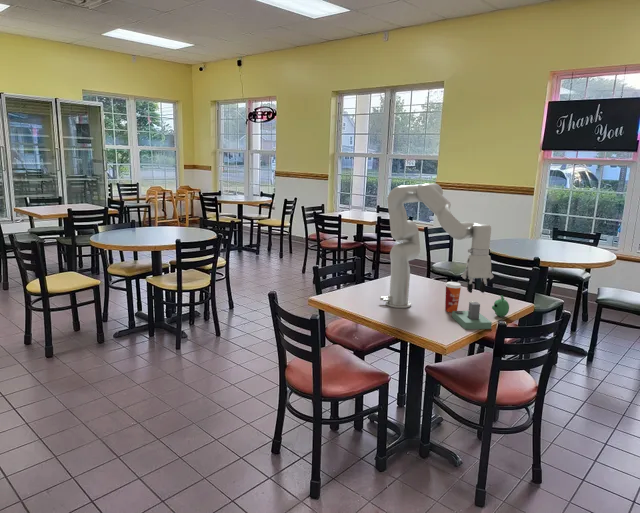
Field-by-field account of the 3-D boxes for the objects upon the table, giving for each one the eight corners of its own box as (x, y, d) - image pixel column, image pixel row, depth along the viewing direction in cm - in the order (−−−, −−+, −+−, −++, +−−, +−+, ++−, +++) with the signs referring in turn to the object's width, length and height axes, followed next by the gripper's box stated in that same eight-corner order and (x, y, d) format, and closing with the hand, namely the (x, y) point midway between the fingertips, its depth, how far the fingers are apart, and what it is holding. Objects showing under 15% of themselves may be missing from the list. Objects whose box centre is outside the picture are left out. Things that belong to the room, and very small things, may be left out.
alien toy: (490, 313, 232) (492, 293, 230) (507, 315, 230) (509, 295, 228) (491, 317, 226) (493, 297, 224) (508, 319, 224) (511, 299, 222)
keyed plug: (470, 325, 213) (472, 304, 211) (466, 322, 218) (468, 301, 216) (478, 325, 214) (480, 304, 212) (473, 322, 218) (475, 301, 216)
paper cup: (450, 314, 229) (453, 286, 226) (439, 309, 235) (442, 282, 232) (462, 312, 232) (465, 284, 229) (451, 307, 239) (454, 280, 236)
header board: (464, 329, 209) (465, 321, 208) (451, 316, 225) (452, 310, 224) (491, 328, 210) (491, 321, 210) (476, 316, 226) (477, 310, 225)
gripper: (464, 253, 204) (460, 294, 208) (502, 254, 206) (497, 294, 210) (457, 250, 212) (454, 289, 215) (494, 250, 213) (490, 289, 217)
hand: (475, 291), depth 212 cm, fingers open, 4 cm apart
